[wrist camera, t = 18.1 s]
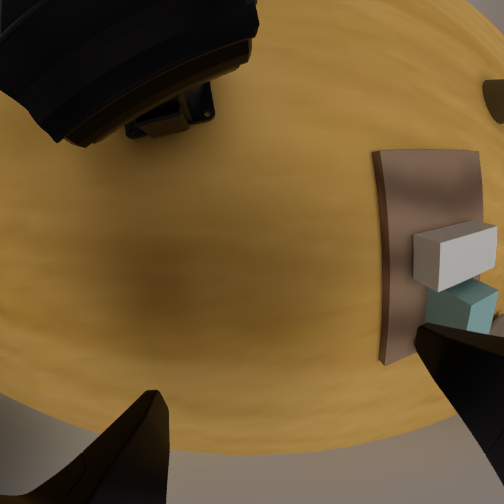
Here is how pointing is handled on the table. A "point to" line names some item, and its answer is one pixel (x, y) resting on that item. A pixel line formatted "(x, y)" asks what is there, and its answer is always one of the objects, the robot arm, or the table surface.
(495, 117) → the olive pepper mill
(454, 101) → the table surface
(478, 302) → the block
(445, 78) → the table surface
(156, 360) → the table surface
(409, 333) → the board
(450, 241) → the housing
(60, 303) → the table surface
